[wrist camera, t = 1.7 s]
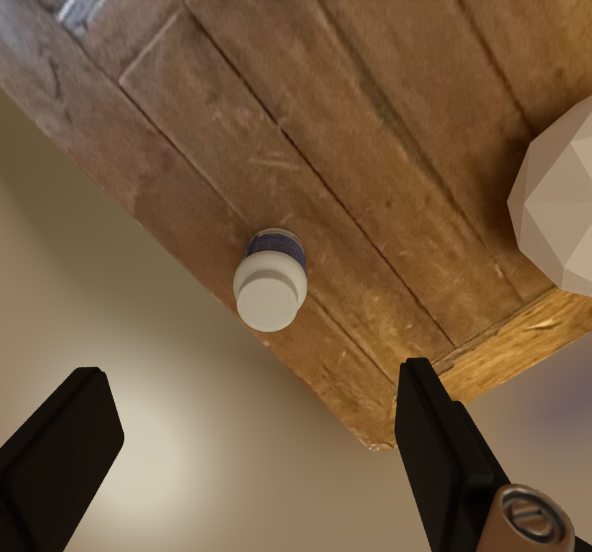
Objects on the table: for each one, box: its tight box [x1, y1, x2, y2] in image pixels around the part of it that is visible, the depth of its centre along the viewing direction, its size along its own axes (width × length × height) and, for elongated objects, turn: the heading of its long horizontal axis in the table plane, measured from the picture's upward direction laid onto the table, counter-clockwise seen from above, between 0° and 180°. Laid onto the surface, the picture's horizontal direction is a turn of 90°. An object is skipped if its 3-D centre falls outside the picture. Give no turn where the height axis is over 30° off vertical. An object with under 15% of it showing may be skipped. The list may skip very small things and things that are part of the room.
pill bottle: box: [233, 228, 307, 332], centre depth 27 cm, size 5×5×10 cm
